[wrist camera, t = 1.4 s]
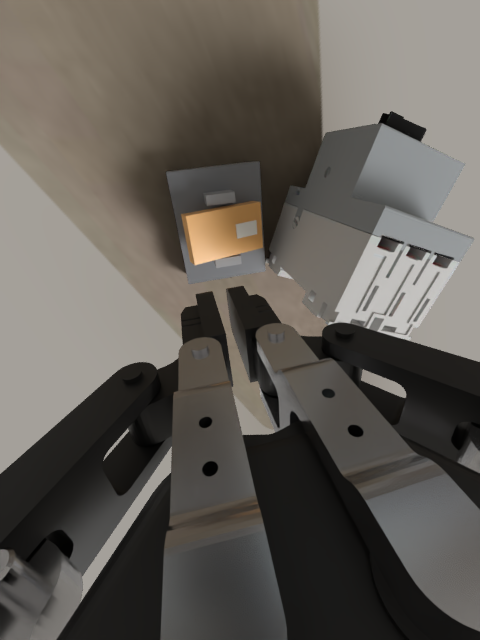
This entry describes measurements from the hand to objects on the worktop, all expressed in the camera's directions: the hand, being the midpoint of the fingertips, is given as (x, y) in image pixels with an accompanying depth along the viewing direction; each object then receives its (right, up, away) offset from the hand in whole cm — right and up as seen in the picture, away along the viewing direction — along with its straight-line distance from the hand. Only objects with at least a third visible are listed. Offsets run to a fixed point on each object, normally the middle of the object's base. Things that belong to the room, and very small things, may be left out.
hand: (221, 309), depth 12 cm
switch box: (-1, +10, +17) cm, 19 cm away
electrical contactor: (+9, +12, +18) cm, 23 cm away
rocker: (-1, +8, +13) cm, 15 cm away
